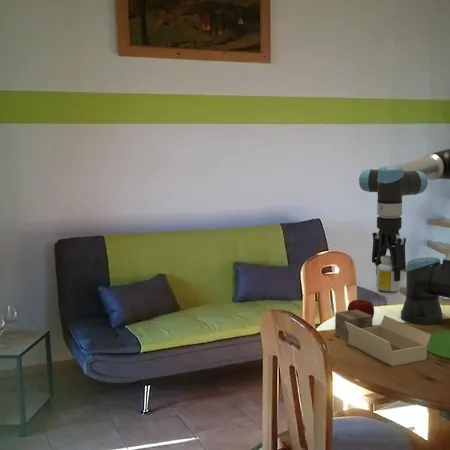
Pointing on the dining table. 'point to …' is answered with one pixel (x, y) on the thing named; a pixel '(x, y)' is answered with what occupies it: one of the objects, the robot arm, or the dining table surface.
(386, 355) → the carton
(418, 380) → the dining table surface
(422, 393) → the dining table surface
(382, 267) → the pill bottle
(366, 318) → the block
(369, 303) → the apple
